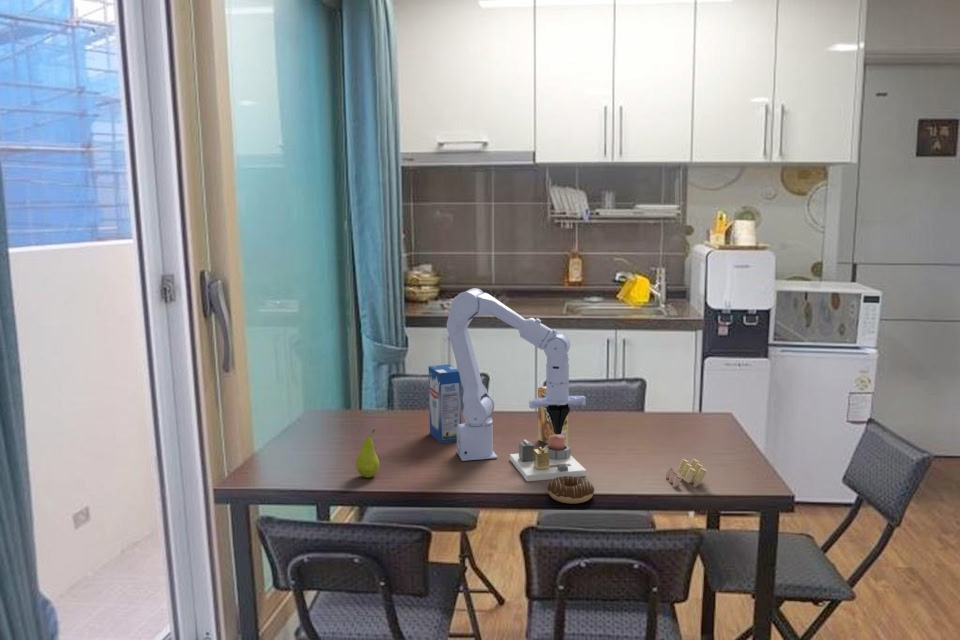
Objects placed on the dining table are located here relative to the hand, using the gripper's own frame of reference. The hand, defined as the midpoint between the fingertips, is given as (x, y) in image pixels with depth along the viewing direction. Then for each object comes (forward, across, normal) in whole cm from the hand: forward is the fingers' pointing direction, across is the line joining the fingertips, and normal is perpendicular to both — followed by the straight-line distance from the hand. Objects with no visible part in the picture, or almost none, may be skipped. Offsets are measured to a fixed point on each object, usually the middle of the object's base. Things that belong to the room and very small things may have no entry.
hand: (557, 433), depth 195 cm
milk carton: (+8, -25, +28) cm, 38 cm away
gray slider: (+6, -9, -1) cm, 10 cm away
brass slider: (+6, -7, -8) cm, 12 cm away
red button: (+4, 0, 0) cm, 4 cm away
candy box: (+8, +3, +14) cm, 17 cm away
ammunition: (+8, +25, -22) cm, 34 cm away
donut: (+8, -4, -24) cm, 25 cm away
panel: (+7, -4, -4) cm, 9 cm away
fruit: (+8, -49, 0) cm, 49 cm away
